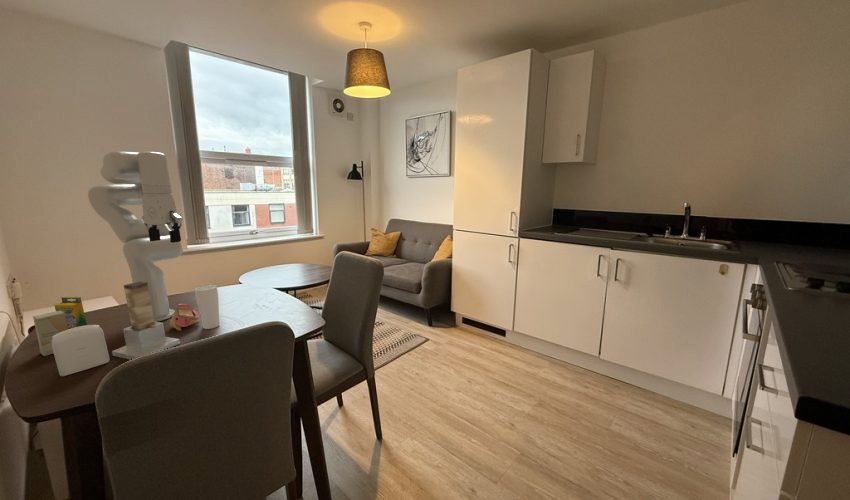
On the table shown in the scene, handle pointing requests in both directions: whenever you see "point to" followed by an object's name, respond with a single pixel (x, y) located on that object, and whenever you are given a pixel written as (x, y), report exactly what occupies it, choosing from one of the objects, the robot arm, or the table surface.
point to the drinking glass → (208, 305)
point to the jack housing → (144, 341)
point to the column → (139, 305)
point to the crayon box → (72, 312)
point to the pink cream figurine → (184, 316)
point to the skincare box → (49, 329)
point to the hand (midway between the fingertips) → (165, 241)
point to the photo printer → (79, 349)
